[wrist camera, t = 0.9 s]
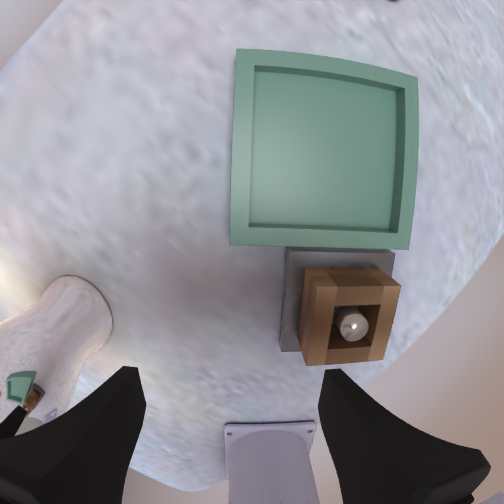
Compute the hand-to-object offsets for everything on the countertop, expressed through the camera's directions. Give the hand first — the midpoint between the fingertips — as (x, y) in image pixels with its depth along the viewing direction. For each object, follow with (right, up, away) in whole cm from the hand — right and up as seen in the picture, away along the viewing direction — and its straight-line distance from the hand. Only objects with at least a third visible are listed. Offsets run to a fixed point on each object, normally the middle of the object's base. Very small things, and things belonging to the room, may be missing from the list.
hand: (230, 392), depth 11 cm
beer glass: (-12, +1, +9) cm, 15 cm away
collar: (+6, +2, +8) cm, 11 cm away
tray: (+5, +11, +7) cm, 14 cm away
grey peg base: (+6, +2, +9) cm, 12 cm away
